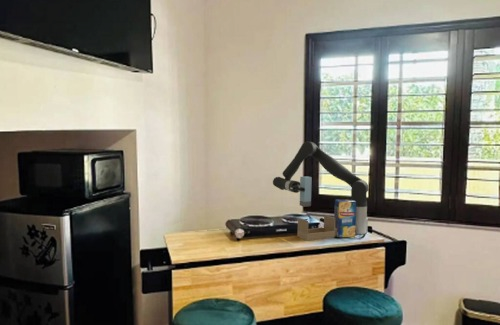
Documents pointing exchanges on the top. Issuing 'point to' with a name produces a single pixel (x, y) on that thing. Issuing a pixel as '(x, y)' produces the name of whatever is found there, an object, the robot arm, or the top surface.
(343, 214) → the blue food box
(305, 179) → the slate box
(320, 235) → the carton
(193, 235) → the top surface
